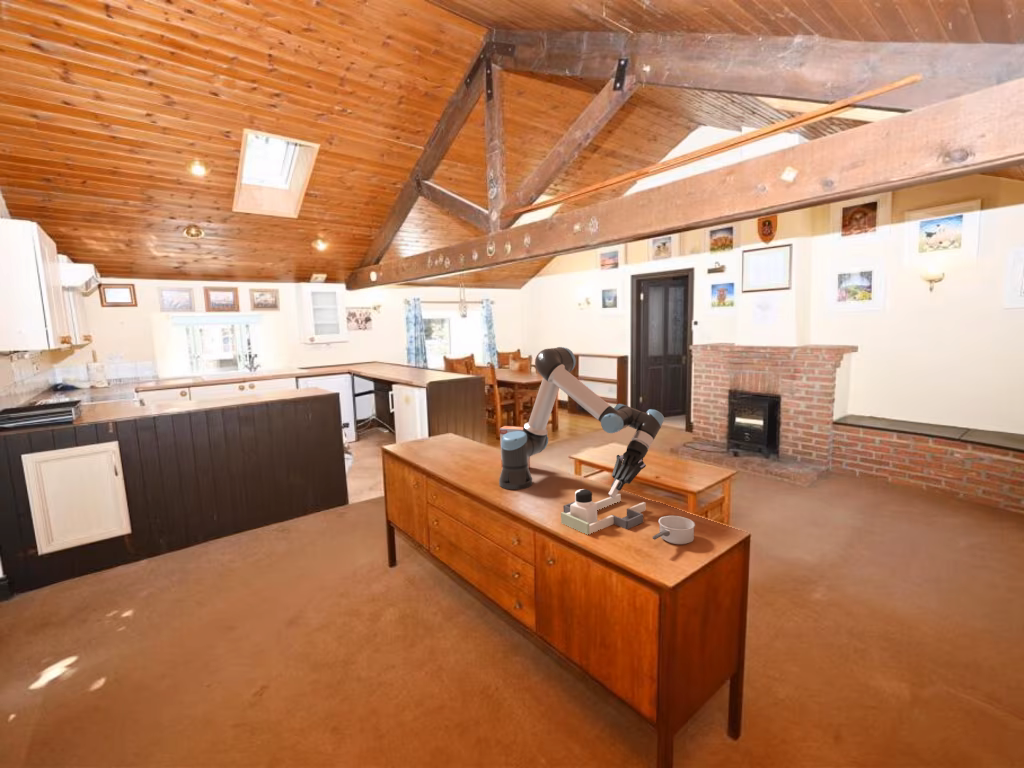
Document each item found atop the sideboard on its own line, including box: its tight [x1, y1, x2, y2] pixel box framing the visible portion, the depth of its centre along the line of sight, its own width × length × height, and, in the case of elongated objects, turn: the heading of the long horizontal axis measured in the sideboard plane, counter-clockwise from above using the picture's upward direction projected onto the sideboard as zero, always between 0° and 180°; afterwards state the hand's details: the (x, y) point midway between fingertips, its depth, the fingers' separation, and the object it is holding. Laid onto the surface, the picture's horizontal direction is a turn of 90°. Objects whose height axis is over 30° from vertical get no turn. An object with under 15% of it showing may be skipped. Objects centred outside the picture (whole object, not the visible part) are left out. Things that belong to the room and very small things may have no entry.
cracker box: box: [499, 425, 531, 469], centre depth 234 cm, size 14×6×21 cm, turn 63°
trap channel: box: [562, 493, 647, 535], centre depth 171 cm, size 31×25×3 cm
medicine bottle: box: [570, 488, 598, 524], centre depth 166 cm, size 7×7×12 cm
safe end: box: [560, 511, 590, 536], centre depth 161 cm, size 1×13×4 cm, turn 37°
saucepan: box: [652, 515, 696, 545], centre depth 149 cm, size 12×20×6 cm, turn 133°
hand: (611, 496), depth 172 cm, fingers closed
